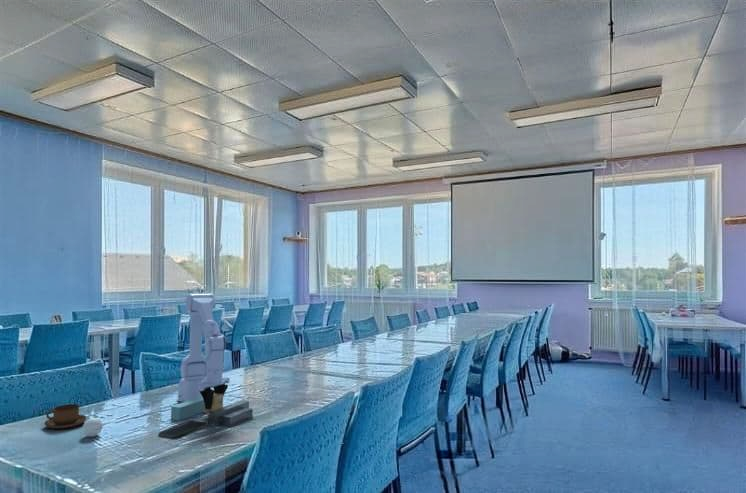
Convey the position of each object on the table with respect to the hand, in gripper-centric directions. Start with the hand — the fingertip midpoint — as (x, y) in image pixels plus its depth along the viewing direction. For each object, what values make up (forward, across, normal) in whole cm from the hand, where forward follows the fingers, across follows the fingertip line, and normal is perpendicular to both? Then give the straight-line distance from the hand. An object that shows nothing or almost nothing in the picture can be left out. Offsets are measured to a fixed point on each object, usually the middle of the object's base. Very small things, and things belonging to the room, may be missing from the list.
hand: (213, 406), depth 175 cm
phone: (+4, -16, -2) cm, 17 cm away
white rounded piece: (+4, -32, +19) cm, 37 cm away
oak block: (+2, 0, 0) cm, 2 cm away
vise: (+4, 0, -10) cm, 10 cm away
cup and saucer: (+4, -30, +37) cm, 48 cm away
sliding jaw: (+3, 0, +9) cm, 10 cm away
